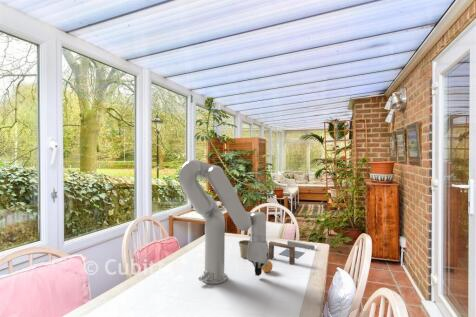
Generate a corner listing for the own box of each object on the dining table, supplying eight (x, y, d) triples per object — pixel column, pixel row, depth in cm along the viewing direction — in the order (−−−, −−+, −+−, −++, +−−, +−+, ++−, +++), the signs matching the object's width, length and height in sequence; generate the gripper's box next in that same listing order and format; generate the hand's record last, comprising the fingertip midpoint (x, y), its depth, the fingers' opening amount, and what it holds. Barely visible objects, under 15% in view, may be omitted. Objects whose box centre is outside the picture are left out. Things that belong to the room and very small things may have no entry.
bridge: (292, 264, 156) (292, 247, 156) (268, 259, 164) (268, 242, 164) (294, 263, 158) (294, 246, 158) (270, 257, 167) (271, 241, 167)
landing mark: (297, 258, 166) (297, 258, 166) (278, 254, 172) (278, 254, 172) (304, 252, 176) (304, 252, 176) (286, 249, 182) (286, 248, 182)
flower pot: (254, 254, 172) (254, 240, 172) (253, 260, 162) (253, 245, 162) (239, 253, 173) (239, 239, 172) (237, 259, 163) (237, 244, 163)
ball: (269, 275, 142) (269, 263, 142) (258, 272, 146) (258, 260, 145) (274, 271, 147) (274, 259, 147) (264, 268, 151) (264, 257, 150)
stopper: (313, 250, 180) (313, 246, 180) (287, 245, 190) (287, 241, 190) (314, 249, 182) (314, 245, 182) (288, 244, 192) (288, 240, 192)
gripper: (241, 237, 139) (241, 273, 140) (268, 242, 131) (268, 281, 131) (249, 233, 146) (249, 268, 146) (275, 238, 137) (275, 275, 138)
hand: (258, 274), depth 139 cm, fingers closed
